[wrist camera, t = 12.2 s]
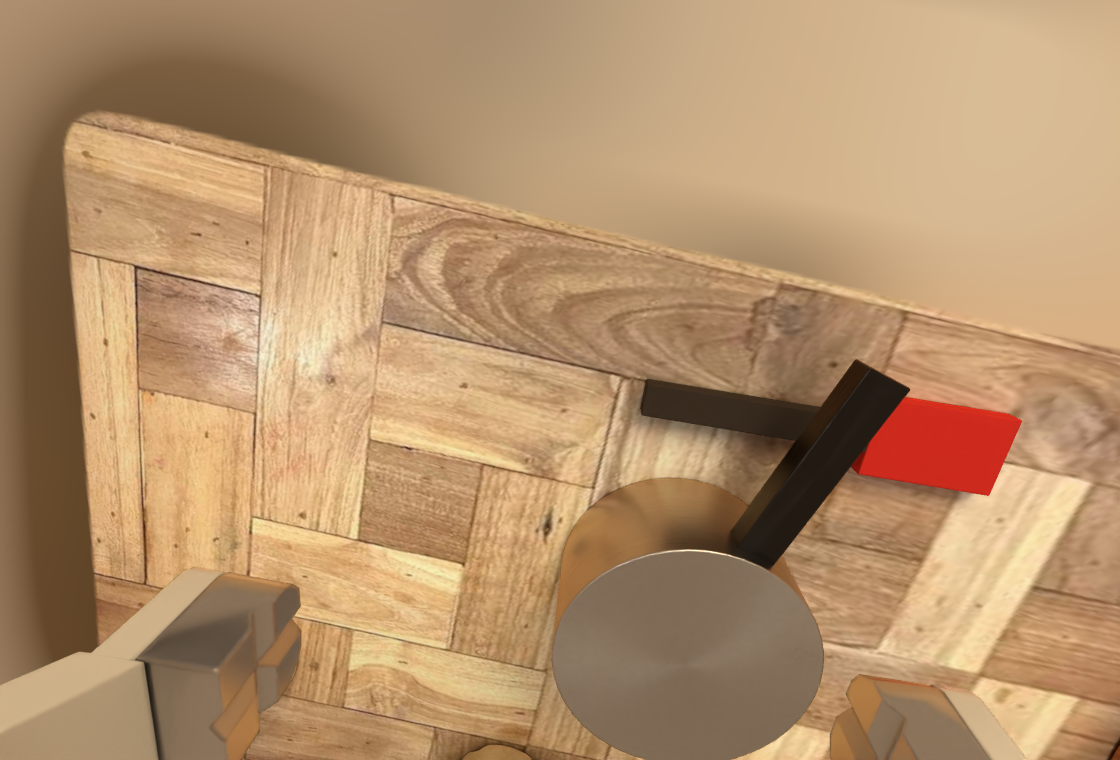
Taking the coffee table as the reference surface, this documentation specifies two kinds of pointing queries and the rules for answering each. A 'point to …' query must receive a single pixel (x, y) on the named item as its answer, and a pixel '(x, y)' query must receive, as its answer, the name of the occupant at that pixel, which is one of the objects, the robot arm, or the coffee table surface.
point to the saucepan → (705, 597)
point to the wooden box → (1116, 754)
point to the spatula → (894, 452)
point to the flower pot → (496, 753)
